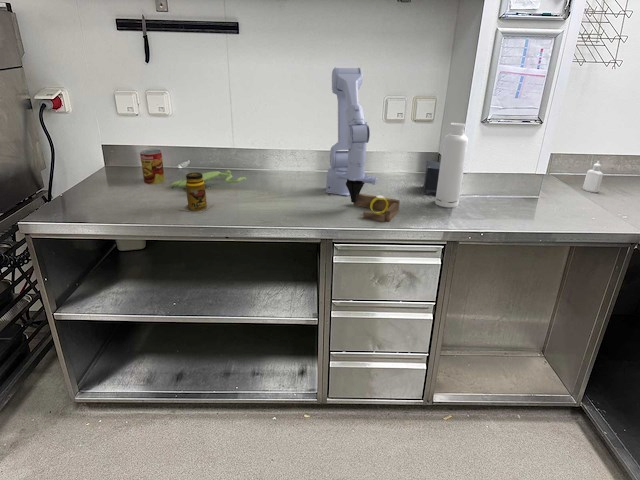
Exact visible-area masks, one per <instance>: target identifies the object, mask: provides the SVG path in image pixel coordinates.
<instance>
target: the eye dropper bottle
mask: <svg viewBox="0 0 640 480" xmlns="http://www.w3.org/2000/svg"><path fill="white" fill-rule="evenodd" d="M600 163H601V161H600V160H597V161H596V163H594V164H593V167H592V169H588V170H587V172H586V175H585V179H584V182H583V185H582V190H583V191H586V192H588V193H593V194H595V193H598V192H599V190H600V187H601V184H602V180H603V177H604V173H603V172H602V171H601V167H602V165H601V164H600Z"/></svg>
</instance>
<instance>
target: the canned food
mask: <svg viewBox="0 0 640 480" xmlns="http://www.w3.org/2000/svg"><path fill="white" fill-rule="evenodd" d="M139 156H140V163H141V169H142V175H143V182H144V184H146V185H159V184H162V183H165V182H166V177H165V176H166V175H165V168H164V162H163V154H162V150H160V149H157V148H156V149H155V148H154V149H153V148H152V149H144V150H140V151H139Z"/></svg>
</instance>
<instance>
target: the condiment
mask: <svg viewBox="0 0 640 480" xmlns="http://www.w3.org/2000/svg"><path fill="white" fill-rule="evenodd" d="M202 174H203V173H201V172H197V171H195V172H189V173H187V174H186V175H185V178H186V179H185V180H186V181H187V182H186V187H185V191H186V197H187V198H186V199H187V204H186V205H185V206H183V207H181V208H179V209H178V210H179V211H185V212H191V213H196V214H197V213H198V214H201V213H203V212H205V211H206V210H208V209H209V208H211V207H212V205H209V204H207V195H206V185H205V184H206V182H204V181H203V175H202Z"/></svg>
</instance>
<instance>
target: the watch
mask: <svg viewBox="0 0 640 480" xmlns="http://www.w3.org/2000/svg"><path fill="white" fill-rule="evenodd" d="M375 196H376V198H374V199H373V200H372V201H371V203H370V212H372V213H377V214H383V215H384V214H386V210H387V209H388V202H387V200H386V199H385V198H386V197H385V196H384V195H379V194H377V195H375ZM377 199H378V200H383V199H384V200H385V201H386V207H385V209H384V210H380V211H374V208H372V206H373V203H374V202H375V201H376V200H377Z"/></svg>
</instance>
